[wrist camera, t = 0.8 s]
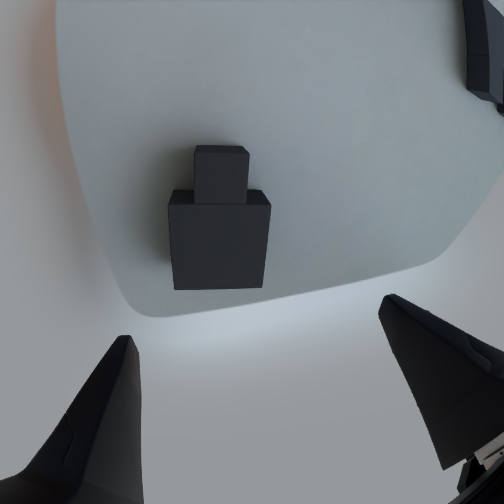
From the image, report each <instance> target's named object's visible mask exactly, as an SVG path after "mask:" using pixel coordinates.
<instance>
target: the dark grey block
mask: <svg viewBox="0 0 504 504" xmlns="http://www.w3.org/2000/svg"><path fill="white" fill-rule="evenodd" d="M463 7H464V15H465V24H466V37H467V90H468V91H470V92H471V93H473V94H474V95H476V96H477V97H479V98H480V99H481V100H486V101H491V102H495V103H498V112H499V113H500V114H501V115H502V116H503V117H504V17H503V15H502V14H501V13H500V12H499V11H498V10H497V9H496V8H495V7H494V6H493V5H492V4H491V3H490V2H489V1H488V0H463Z"/></svg>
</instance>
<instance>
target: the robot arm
mask: <svg viewBox="0 0 504 504" xmlns="http://www.w3.org/2000/svg"><path fill="white" fill-rule="evenodd" d="M378 315H379V319H380V321H381V324H382V326H383V329H384V331H385V334H386V336H387V339H388V341H389V344H390V347H391V349H392V352H393V354H394V355H395V358H396V360H397V362H398V364H399V366H400V368H401V370H402V372H403V374H404V376H405V378H406V381H407V383H408V385H409V387H410V389H411V391H412V394H413V396H414V398H415V400H416V403H417V406H418V407H419V409H420V412H421V414H422V417H423V419H424V422H425V424H426V427H427V429H428V431H429V434H430V437H431V440H432V442H433V445H434V448H435V450H436V453H437V456H438V458H439V461H440V464H441V467H442V469H443V470H446V469H447V468H449V467H451V466H453V465H455V464H456V463H458V462H460V461H461V460H463V459H465V458H466V460H467V462H466V463H465V464H464V465H463V468H462V472H461V476H460V479H459V482H458V486H457V490H458V492H459V494H460V495H459V496H457V497H456V498H455V499H454V500H452V501H451V502H450V503H448V504H504V352H503V351H501V350H499V349H497V348H494V347H492V346H490V345H488V344H486V343H484V342H482V341H480V340H479V339H477V338H475V337H473V336H471V335H469V334H468V333H465V332H464V331H462V330H460V329H459V328H457V327H455V326H453V325H451V324H450V323H448V322H446V321H444V320H442V319H441V318H439V317H437V316H435V315H433V314H431V313H430V312H428V311H426V310H424V309H422V308H420V307H418V306H416V305H415V304H413V303H411V302H409V301H407V300H405V299H403V298H402V297H400V296H397V295H396V294H390V295H386V296H384V298H383V300H382V303H381V306H380V308H379V312H378ZM66 413H67V414H66ZM66 413H65V414H64V416H63V417H62V419H61V420H60V422H59V424H58V425H57V426H56V428H55V429H54V431H53V432H52V434H51V435H50V436H49V438H48V439H47V440H46V442H45V443H44V445H43V446H42V447H41V449H40V450H39V451H38V452H37V454H36V455H35V456H34V458H33V459H32V460H31V462H30V463H29V464H28V465H27V467H26V468H25V469H24V470H23V471H21V472H20V473H18V474H17V475H14V476H12V477H9V478H6V479H3V480H0V504H144V503H143V502H144V499H143V485H142V469H141V468H142V467H141V381H140V362H139V352H138V350H137V347H136V345H135V343H134V341H133V339H132V337H131V336H130V335H121V336H118V337H117V338H116V340H115V341H114V343H113V344H112V345H111V347H110V348H109V350H108V351H107V352H106V354H105V355H104V356H103V358H102V359H101V361H100V362H99V363H98V365H97V367H96V368H95V369H94V371H93V372H92V373H91V375H90V377H89V378H88V379H87V381H86V382H85V384H84V385H83V387H82V388H81V390H80V391H79V393H78V394H77V396H76V397H75V399H74V400H73V402H72V403H71V405H70V406H69V408H68V410H67V411H66Z"/></svg>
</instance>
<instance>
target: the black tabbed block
mask: <svg viewBox="0 0 504 504" xmlns="http://www.w3.org/2000/svg"><path fill="white" fill-rule="evenodd" d="M249 157H250V154H249V152H248V151H247V150H246V149H245V148H244V147H242V146H219V145H197V146H196V149H195V153H194V190H173V193H172V195H171V198H170V201H169V204H168V218H169V235H170V249H171V261H172V272H173V282H174V290H204V289H241V288H262V285H263V276H264V267H265V259H266V250H267V241H268V232H269V223H270V214H271V204H270V202H269V201H268V199H267V198H266V196H265V195H264V193H263V192H262V190H247V184H248V171H249Z"/></svg>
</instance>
